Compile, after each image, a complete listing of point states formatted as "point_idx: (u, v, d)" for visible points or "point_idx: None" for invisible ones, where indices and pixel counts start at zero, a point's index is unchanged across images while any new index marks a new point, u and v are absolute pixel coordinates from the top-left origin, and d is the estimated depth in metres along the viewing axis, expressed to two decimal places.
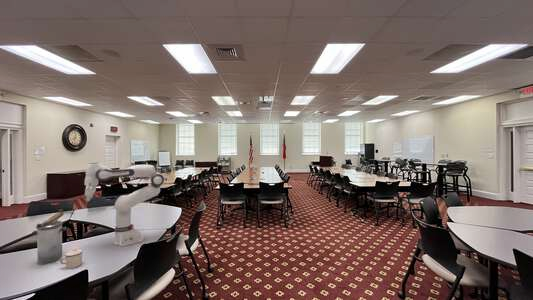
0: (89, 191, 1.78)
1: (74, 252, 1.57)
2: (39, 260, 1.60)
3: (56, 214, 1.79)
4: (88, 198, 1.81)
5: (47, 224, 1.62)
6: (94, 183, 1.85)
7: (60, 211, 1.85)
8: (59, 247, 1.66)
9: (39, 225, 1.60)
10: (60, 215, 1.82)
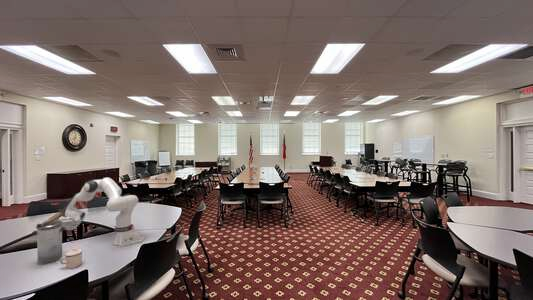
0: None
1: (74, 252, 1.57)
2: (39, 260, 1.60)
3: (56, 214, 1.79)
4: None
5: (47, 224, 1.62)
6: None
7: (60, 211, 1.85)
8: (59, 247, 1.66)
9: (39, 225, 1.60)
10: (60, 215, 1.82)
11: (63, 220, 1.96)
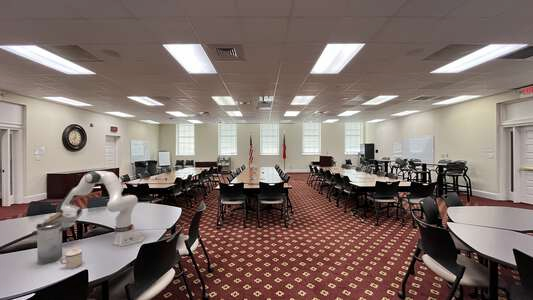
0: None
1: (74, 252, 1.57)
2: (39, 260, 1.60)
3: (56, 214, 1.79)
4: None
5: (47, 224, 1.62)
6: None
7: (60, 211, 1.85)
8: (59, 247, 1.66)
9: (39, 225, 1.60)
10: (60, 215, 1.82)
11: None
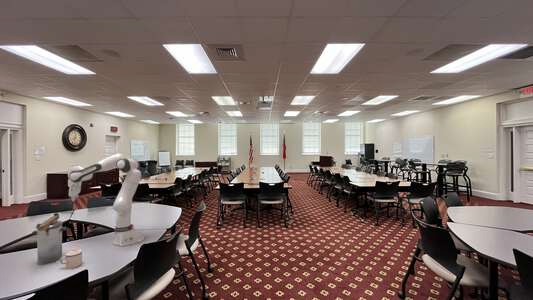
0: (72, 192, 1.93)
1: (74, 252, 1.57)
2: (39, 260, 1.60)
3: (51, 218, 1.70)
4: (73, 198, 1.96)
5: (41, 229, 1.53)
6: (77, 184, 1.99)
7: (56, 214, 1.76)
8: (59, 247, 1.66)
9: (39, 225, 1.60)
10: None
11: None
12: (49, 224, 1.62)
